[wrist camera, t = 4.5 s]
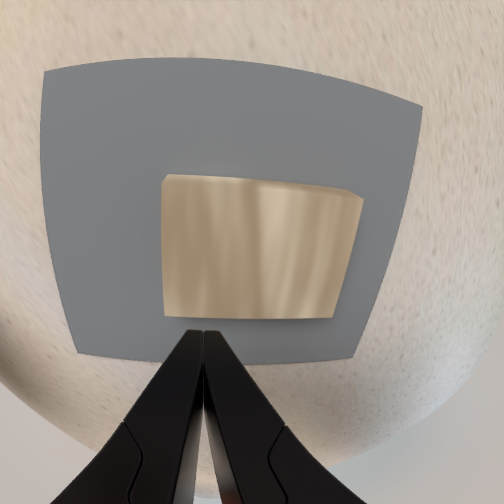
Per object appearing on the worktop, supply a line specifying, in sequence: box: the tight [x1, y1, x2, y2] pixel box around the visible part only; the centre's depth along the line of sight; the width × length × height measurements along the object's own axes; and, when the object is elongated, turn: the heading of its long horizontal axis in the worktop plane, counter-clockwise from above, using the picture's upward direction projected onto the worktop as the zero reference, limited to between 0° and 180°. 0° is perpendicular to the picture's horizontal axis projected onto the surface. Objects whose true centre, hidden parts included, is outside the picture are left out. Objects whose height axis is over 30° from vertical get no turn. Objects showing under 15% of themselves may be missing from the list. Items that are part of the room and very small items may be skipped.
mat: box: [40, 58, 423, 365], centre depth 14 cm, size 18×16×1 cm
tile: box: [161, 174, 364, 319], centre depth 13 cm, size 2×6×8 cm
